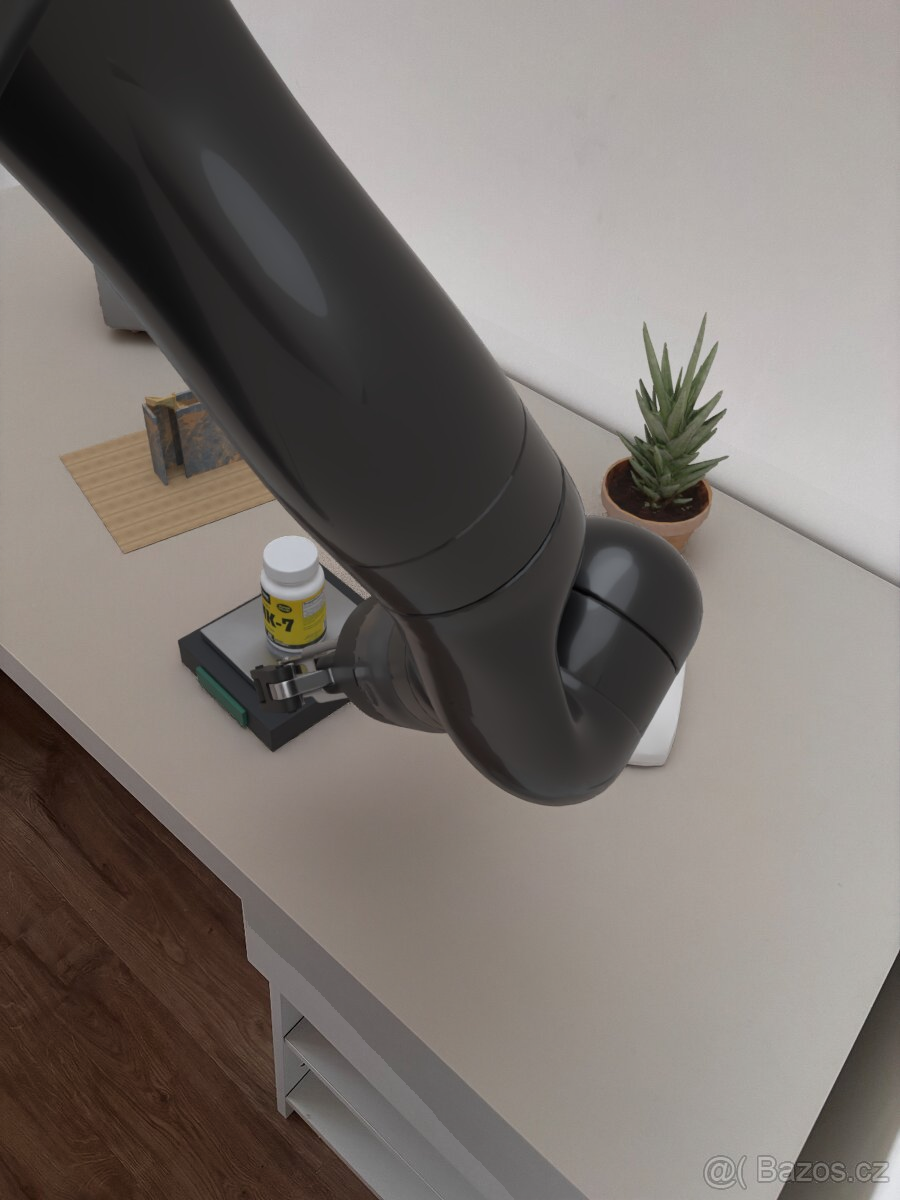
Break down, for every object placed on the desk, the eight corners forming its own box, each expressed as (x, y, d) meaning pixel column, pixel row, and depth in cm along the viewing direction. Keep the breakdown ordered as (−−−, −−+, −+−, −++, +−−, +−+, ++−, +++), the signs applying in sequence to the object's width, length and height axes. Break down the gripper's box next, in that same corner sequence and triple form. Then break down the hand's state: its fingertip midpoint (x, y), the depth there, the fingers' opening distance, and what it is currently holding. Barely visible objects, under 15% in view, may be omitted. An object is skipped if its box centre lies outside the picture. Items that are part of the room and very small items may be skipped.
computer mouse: (682, 654, 87) (698, 600, 83) (667, 778, 78) (684, 725, 74) (605, 638, 88) (617, 584, 84) (581, 759, 79) (593, 705, 75)
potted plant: (574, 561, 95) (618, 314, 78) (613, 504, 101) (662, 262, 84) (679, 601, 92) (750, 353, 75) (713, 540, 98) (786, 297, 81)
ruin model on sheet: (124, 553, 93) (104, 464, 86) (58, 456, 102) (36, 369, 95) (368, 465, 104) (368, 380, 97) (289, 384, 113) (283, 301, 106)
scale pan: (278, 711, 78) (277, 704, 77) (200, 636, 83) (199, 629, 82) (390, 640, 83) (390, 633, 83) (311, 574, 88) (311, 567, 88)
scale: (268, 755, 78) (265, 734, 76) (177, 663, 84) (172, 642, 82) (412, 660, 86) (413, 638, 84) (319, 582, 92) (318, 561, 90)
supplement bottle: (252, 633, 82) (243, 553, 76) (297, 601, 85) (291, 522, 79) (295, 664, 80) (289, 584, 74) (340, 631, 83) (336, 551, 77)
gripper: (530, 550, 56) (430, 572, 71) (273, 624, 51) (225, 630, 66) (567, 686, 56) (460, 679, 72) (315, 772, 52) (258, 744, 67)
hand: (347, 655), depth 69 cm, fingers open, 8 cm apart
